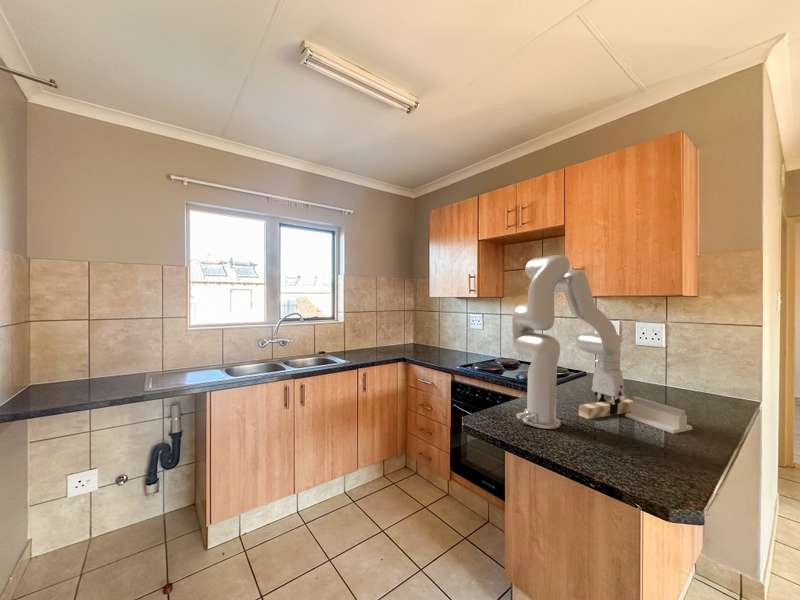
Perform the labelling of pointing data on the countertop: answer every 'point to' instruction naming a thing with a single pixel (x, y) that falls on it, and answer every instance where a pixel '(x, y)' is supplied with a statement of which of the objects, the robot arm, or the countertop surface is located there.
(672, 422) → the ridge stand
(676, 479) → the countertop surface
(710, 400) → the countertop surface
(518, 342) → the robot arm
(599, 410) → the birch rod
